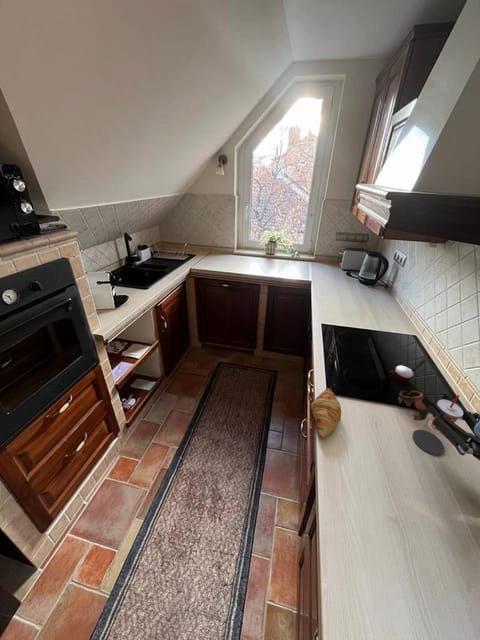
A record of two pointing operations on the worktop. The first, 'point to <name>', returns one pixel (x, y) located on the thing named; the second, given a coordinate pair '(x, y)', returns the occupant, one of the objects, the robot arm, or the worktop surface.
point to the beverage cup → (447, 412)
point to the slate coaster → (428, 442)
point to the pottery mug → (418, 403)
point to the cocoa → (405, 372)
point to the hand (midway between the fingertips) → (434, 397)
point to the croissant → (326, 412)
